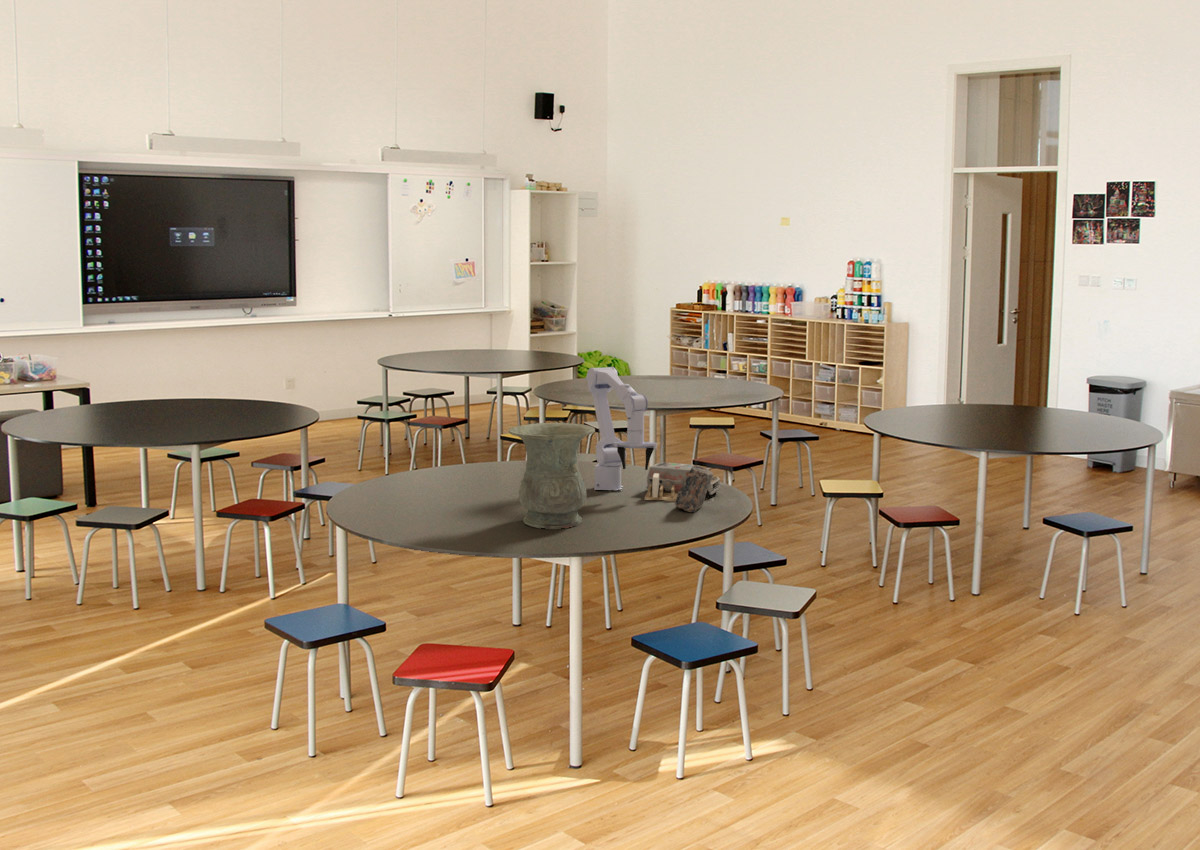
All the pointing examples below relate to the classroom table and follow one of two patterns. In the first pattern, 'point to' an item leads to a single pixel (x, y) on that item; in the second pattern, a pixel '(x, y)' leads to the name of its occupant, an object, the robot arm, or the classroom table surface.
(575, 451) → the vessel
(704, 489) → the stone
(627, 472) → the classroom table surface
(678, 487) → the toy car
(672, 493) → the rack
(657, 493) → the tall cream block
